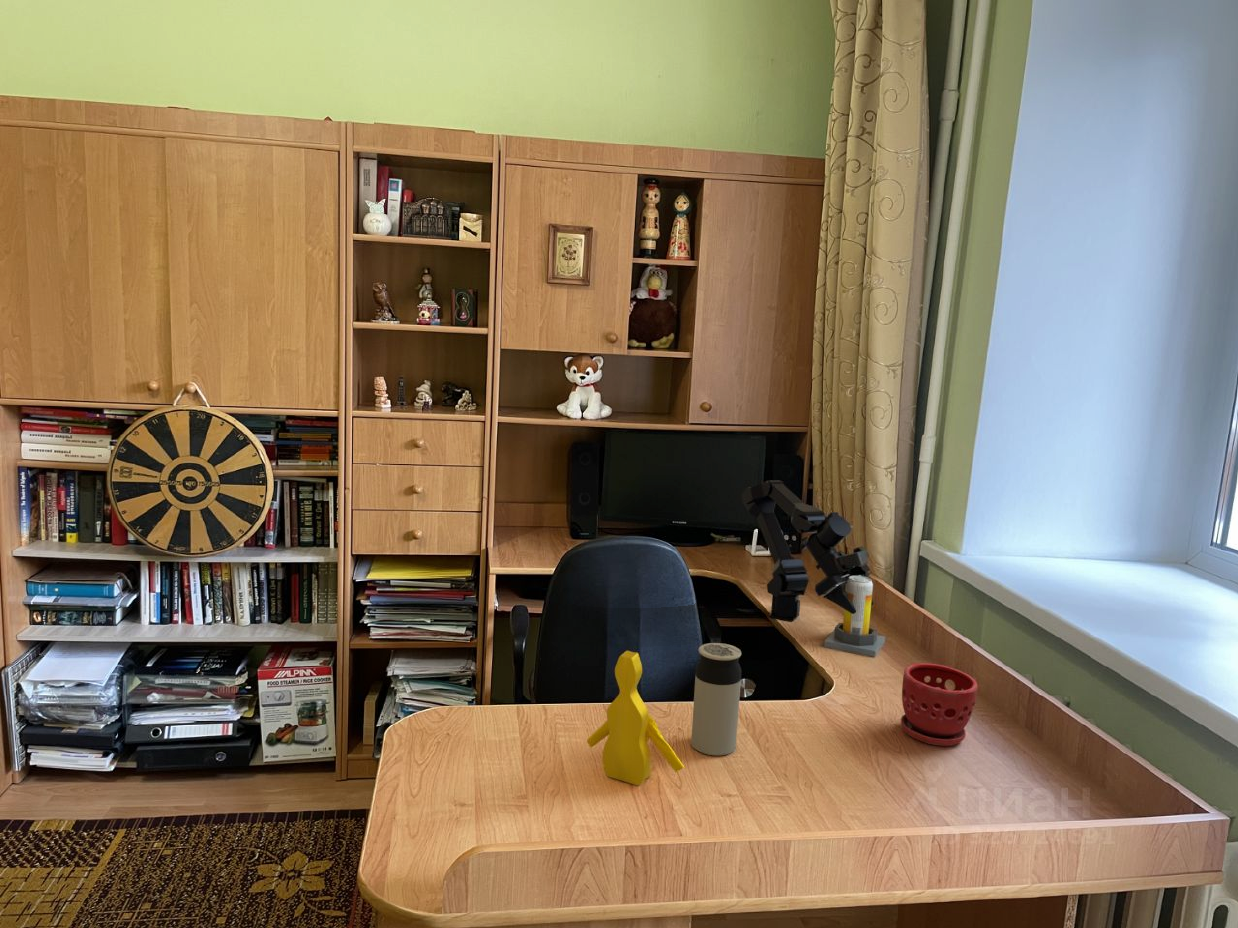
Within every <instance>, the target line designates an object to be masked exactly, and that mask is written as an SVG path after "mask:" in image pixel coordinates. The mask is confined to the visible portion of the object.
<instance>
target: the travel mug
mask: <svg viewBox="0 0 1238 928" xmlns="http://www.w3.org/2000/svg"><path fill="white" fill-rule="evenodd" d="M698 653H699V655H700V656H699V657H700V658H699V660H698V662H697V663H696V664H695V665H696V666H695V676H694V677H695V678H694V679H695V680H694V696H693V707H692V708H693V711H692V725H691V742H690V743H691V744H690V745H691V746H692V747H693V749H694V750H697V751H698V752H700V753H702V754H705V755H708V756H715V757H716V756H717V757H718V756H726V755H729V754H731V753H733V752H735V750H736V749H737V739H738V737H737V736H738V725H739V724H738V723H739V709H740V698H741V697H740V695H741V694H740V693H741V683H742V682H741V680H742V668H741V664H740V663H739V660H740V657H741V656H742V651H741V649H740V648H738V647H736V646H734V645H731V644H727V643H722V642H721V643H720V642H709V643H704V644H702V645H700V646H699V647H698Z"/></svg>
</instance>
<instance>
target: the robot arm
mask: <svg viewBox="0 0 1238 928" xmlns="http://www.w3.org/2000/svg"><path fill="white" fill-rule="evenodd" d="M741 501H742V503H743V506H744V507H745V510H746V511H747V512H748V514H750V515H751V516H753V517H754V518H755V519H756V520H757V523H758V525H759V528H760V531H761V533H762V536H763V539H764V541H765V544H766V546H767V548H768V552H769V553H770V555H771V556H770V557H771V558H772V561H773V564H774V565H773V569H772V573H771V574H772V578H771V579H770V580H769V582H767V584H766V590H767V593H768V594H769V595H771V597H772V598H771V608H770V609H771V610H770V611H771V612H770V613H769V614H768V617H769V618H772V619H773V618H774V619H778V620H782V621H788V622H793V621H795V620H796V619H797V618H798V617H799V616H800V609H801V600H800V599H799V596H804V595H805V594H806V590H807V587H808V585H809V576H808V573H807V572H808V570H807V569H806V567H805V565H804V561H803V560H802V558H795V557H793V555H792V554H791V551H790V548H789V546H788V544H787V541H786V538H785V536H784V534H783V532H782V530H781V526H780V524H779V521H778V520H777V519H778V518H777V517H776V514H775V511H774V510H775V507H776V504H777V506H779V507H780V509H782V510H783V511H784V512H785V513H786V514H787V515H788V516H789V517H790V518H791V519H790V523H791V525H792V526H793V528H794V529H795V530H796V531H797V533H799V534H810V535H809V536H805V537H803V538H801V540H800V541H801V542H800V550H801V551H803V550H805V549H807V550H808V551H809V553H810V555H811V556H812V557H813V559H814V561H815V562H816V564H817V565H815V568H816V569H817V570H821V571H822V572H823V573H824V575H825V577H824V578H823V579H821V580H820V581H819V582H818V583H816V584H815V585H814V592H815V593H816V594H817V596H818V597H819V598H820V597H822V598H823V599H827V600H828V601H830V602H832V603H834V604H836V605H837V606H839V607H840V608H843V610H844V609H845V610H847V611H849V612H850V613H852V614H854V613H856V609H855V607H854V605H853V603H852V602H851V600H850V598H849V596H848V595H847V593H846V586H847V581H848V579H849V577H850V576H864V577H868V578H869V577H870V572H871V571H872V570H871V569H870V567H869V566H868V563H869V559H868V557H869V555H870V553H869V552H867V549H865V548H864V547H863V546H857V547H855V548H853V552H851V553H848V554H845V552H844V551H842V550H837V548H836V547H837V546H838V545H839V544H841V542H842V541H843V540H844V539H845V538H846V537H848V535H850V534H851V531H852V527H851V524H850V522H849V521H847V519H846V518H844V517H843V516H841V515H839V512H838V511H834V512H833V511H832V512H829V514H828V515H826V514H825V512H824V511H823V510H822V509H820V508H818V507H816V506H813V505H809V504H806V503H805V502H804V501H802V500H801V499H800V498H799V497H798V496H797V495H796V494H794V492H793V491H791V490H790V489H789V488H788V487H787V486H786V485H785V483H784V482H783V481H781V480H766V481H764V482H762V483H760V484H757V485H754V486H751V487H750V486H747V487H746V488H745V489H744V491H743V492H742V494H741ZM872 606H874V599H872V600H871V607H872Z"/></svg>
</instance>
